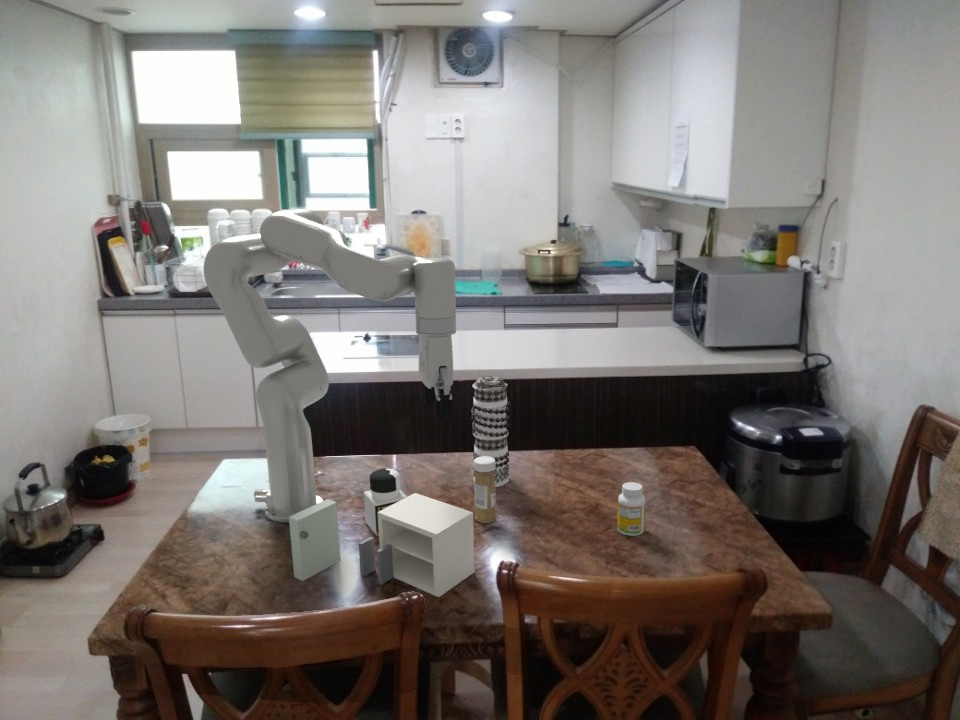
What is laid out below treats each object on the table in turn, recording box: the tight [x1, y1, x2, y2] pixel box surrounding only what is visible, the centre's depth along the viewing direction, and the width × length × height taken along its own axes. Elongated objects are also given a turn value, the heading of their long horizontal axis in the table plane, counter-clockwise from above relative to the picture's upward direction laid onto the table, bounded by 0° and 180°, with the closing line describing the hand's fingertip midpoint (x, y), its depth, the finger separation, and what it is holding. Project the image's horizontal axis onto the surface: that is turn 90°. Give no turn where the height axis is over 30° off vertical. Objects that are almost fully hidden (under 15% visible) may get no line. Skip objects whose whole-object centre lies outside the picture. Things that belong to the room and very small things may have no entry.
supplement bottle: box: [616, 481, 646, 537], centre depth 147 cm, size 5×5×10 cm
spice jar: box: [473, 456, 497, 524], centre depth 152 cm, size 5×5×13 cm
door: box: [288, 498, 341, 582], centre depth 134 cm, size 3×9×12 cm, turn 143°
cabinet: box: [358, 492, 475, 598], centre depth 132 cm, size 16×13×12 cm
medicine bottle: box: [363, 468, 408, 537], centre depth 150 cm, size 7×7×12 cm
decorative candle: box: [470, 375, 511, 488], centre depth 170 cm, size 9×9×25 cm
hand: (437, 411), depth 141 cm, fingers open, 9 cm apart
